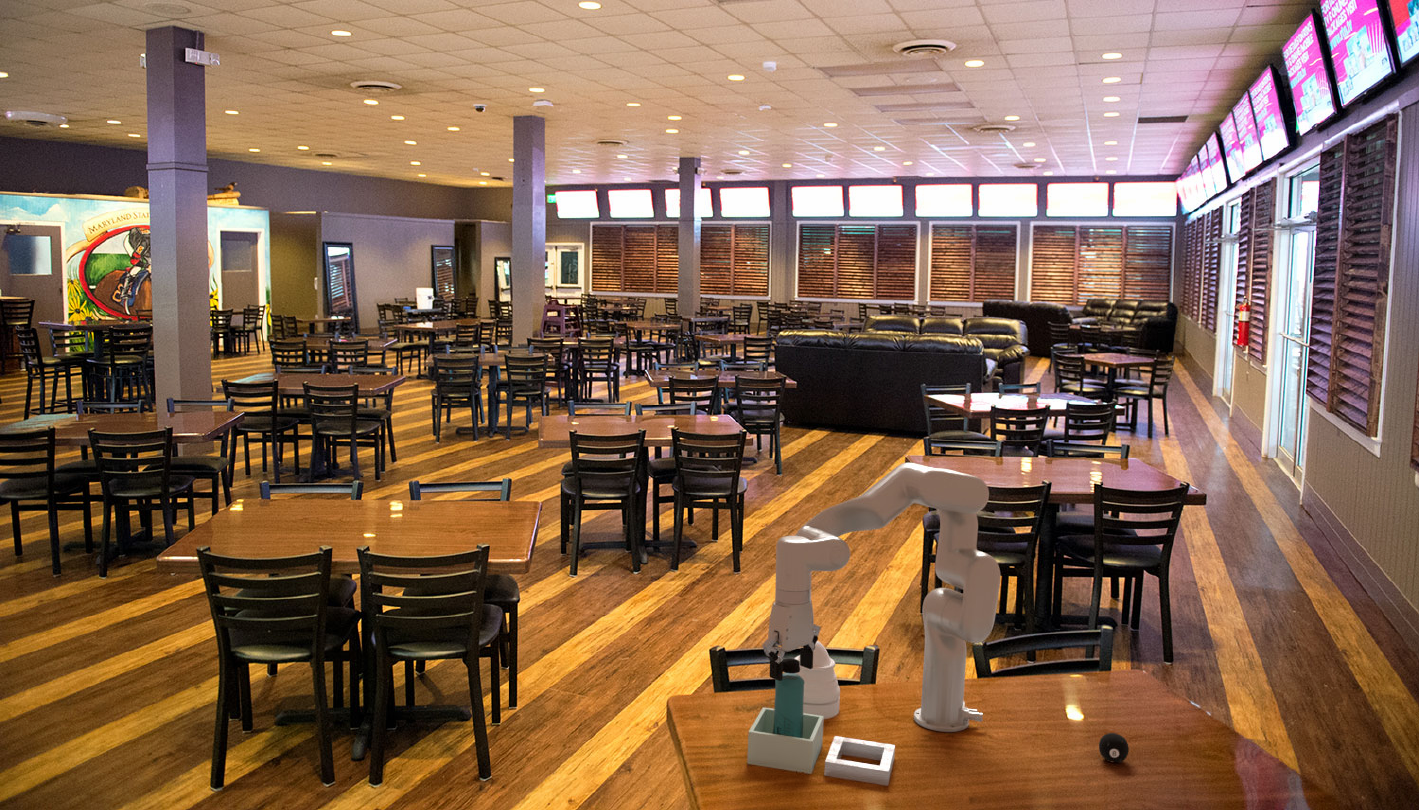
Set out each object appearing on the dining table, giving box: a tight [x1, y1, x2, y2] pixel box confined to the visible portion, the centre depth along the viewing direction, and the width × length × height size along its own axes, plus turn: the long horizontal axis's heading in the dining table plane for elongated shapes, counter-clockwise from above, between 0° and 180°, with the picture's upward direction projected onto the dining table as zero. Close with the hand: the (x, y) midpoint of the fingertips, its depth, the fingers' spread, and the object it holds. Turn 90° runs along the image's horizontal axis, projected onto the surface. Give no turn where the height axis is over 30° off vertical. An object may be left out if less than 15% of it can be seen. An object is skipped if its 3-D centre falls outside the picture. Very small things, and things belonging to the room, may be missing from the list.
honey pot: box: [793, 640, 841, 720], centre depth 245 cm, size 13×13×18 cm
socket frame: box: [823, 735, 896, 787], centre depth 215 cm, size 13×13×3 cm
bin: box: [746, 706, 825, 775], centre depth 220 cm, size 14×14×7 cm
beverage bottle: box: [773, 657, 804, 738], centre depth 219 cm, size 6×7×20 cm
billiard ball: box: [1098, 732, 1130, 763], centre depth 222 cm, size 6×6×6 cm
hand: (791, 673), depth 218 cm, fingers open, 9 cm apart
